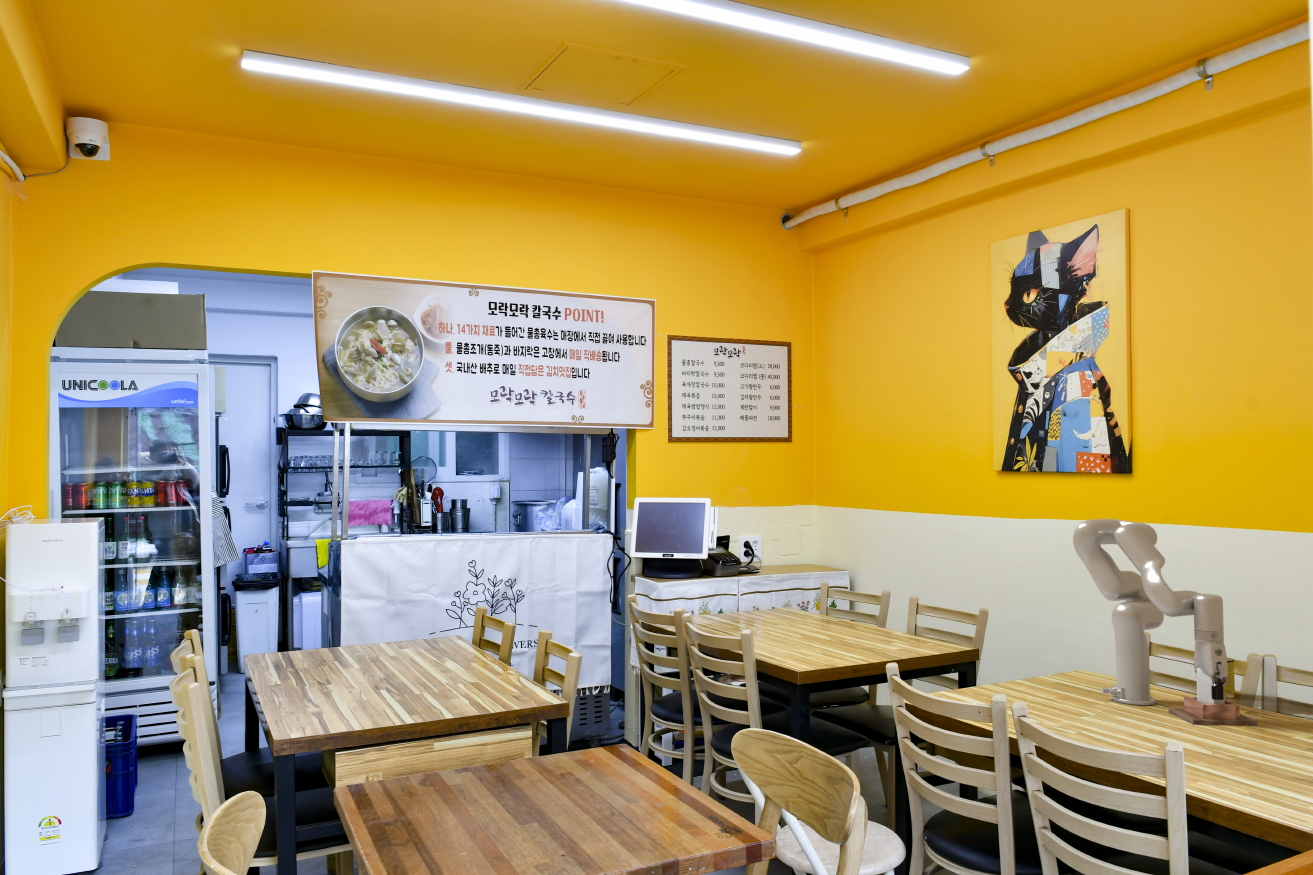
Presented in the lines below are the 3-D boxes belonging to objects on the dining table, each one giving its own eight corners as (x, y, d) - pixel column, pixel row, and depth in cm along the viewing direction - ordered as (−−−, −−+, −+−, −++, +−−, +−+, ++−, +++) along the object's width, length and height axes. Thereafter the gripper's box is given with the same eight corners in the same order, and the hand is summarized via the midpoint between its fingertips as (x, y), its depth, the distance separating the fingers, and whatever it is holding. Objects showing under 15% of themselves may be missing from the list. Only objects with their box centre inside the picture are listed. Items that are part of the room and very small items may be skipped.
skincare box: (1225, 712, 267) (1224, 671, 267) (1214, 713, 266) (1213, 672, 266) (1207, 707, 273) (1206, 667, 273) (1196, 708, 271) (1195, 668, 272)
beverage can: (1201, 690, 305) (1200, 654, 305) (1232, 693, 301) (1231, 657, 301) (1204, 696, 296) (1203, 659, 297) (1237, 699, 293) (1236, 661, 293)
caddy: (1193, 724, 262) (1192, 706, 262) (1168, 712, 276) (1168, 694, 276) (1257, 725, 261) (1256, 707, 261) (1229, 712, 275) (1228, 695, 275)
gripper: (1239, 641, 261) (1240, 703, 260) (1206, 631, 278) (1207, 689, 278) (1212, 641, 262) (1213, 703, 261) (1180, 630, 279) (1182, 689, 278)
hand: (1210, 695), depth 269 cm, fingers closed on skincare box, 6 cm apart
